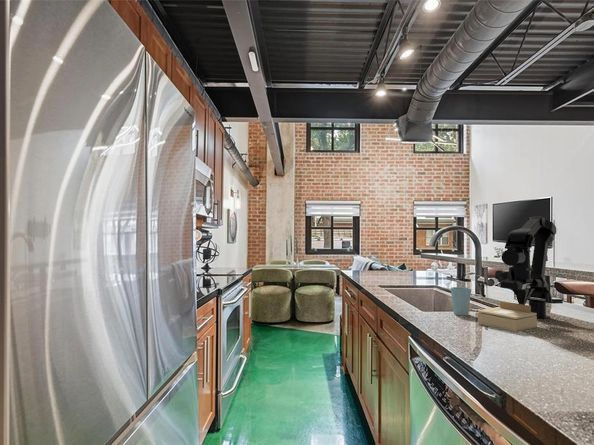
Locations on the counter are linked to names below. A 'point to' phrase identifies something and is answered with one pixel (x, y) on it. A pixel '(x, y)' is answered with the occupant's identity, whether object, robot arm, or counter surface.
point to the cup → (460, 300)
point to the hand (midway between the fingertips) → (521, 306)
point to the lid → (510, 310)
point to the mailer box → (507, 322)
